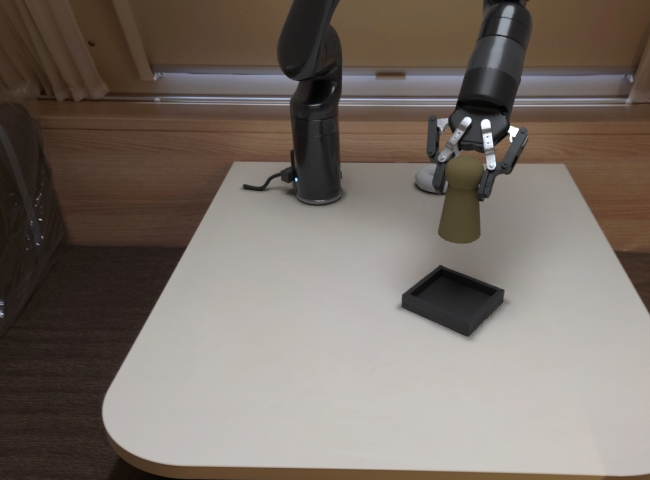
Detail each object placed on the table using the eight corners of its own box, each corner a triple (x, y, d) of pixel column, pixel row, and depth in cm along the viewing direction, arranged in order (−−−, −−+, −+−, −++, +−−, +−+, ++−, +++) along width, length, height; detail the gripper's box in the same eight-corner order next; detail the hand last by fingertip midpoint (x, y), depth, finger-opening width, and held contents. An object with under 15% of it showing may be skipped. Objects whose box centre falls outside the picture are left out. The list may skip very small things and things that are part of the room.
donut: (417, 175, 128) (412, 193, 120) (417, 160, 126) (413, 178, 118) (462, 178, 127) (460, 197, 118) (463, 163, 125) (462, 181, 117)
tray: (401, 306, 88) (401, 294, 86) (439, 276, 94) (440, 264, 93) (468, 336, 82) (469, 323, 80) (503, 301, 88) (505, 289, 87)
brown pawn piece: (479, 245, 79) (488, 170, 73) (435, 241, 80) (440, 167, 74) (481, 224, 84) (489, 152, 78) (440, 221, 85) (444, 149, 79)
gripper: (436, 60, 78) (401, 176, 76) (544, 70, 73) (510, 195, 71) (445, 89, 85) (414, 196, 83) (544, 100, 80) (514, 215, 78)
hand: (459, 195), depth 77 cm, fingers closed on brown pawn piece, 5 cm apart
